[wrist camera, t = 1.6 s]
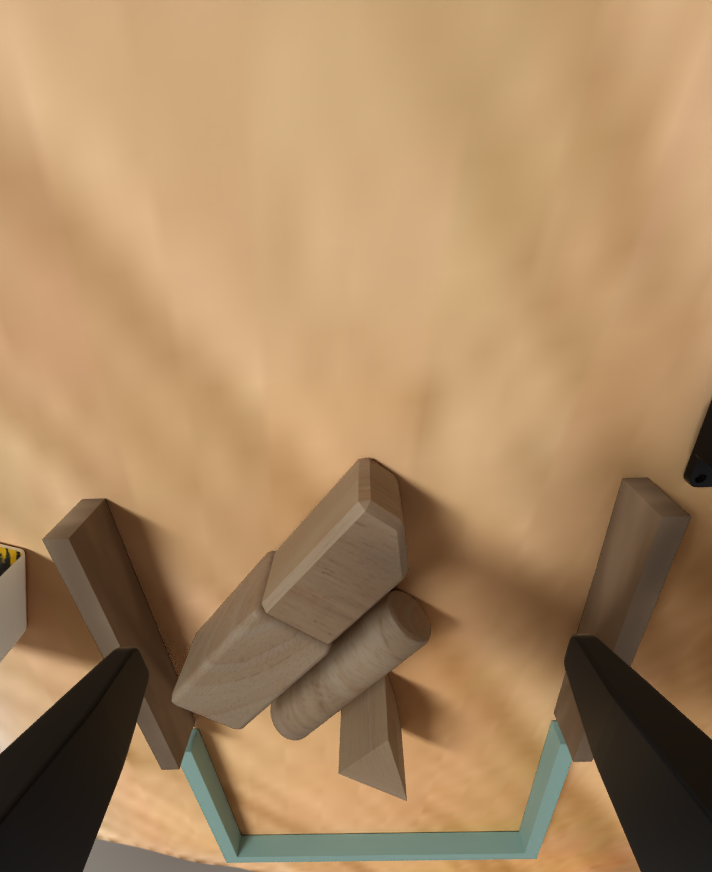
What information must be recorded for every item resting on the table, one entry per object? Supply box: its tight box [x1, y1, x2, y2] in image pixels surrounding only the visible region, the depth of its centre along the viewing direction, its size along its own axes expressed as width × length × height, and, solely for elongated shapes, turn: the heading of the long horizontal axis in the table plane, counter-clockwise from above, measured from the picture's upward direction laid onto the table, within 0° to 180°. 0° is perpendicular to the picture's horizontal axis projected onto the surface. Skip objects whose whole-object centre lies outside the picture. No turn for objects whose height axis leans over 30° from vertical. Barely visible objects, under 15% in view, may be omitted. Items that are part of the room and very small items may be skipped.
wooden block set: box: [172, 458, 431, 801], centre depth 23 cm, size 17×6×18 cm
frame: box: [181, 721, 572, 863], centre depth 34 cm, size 28×19×2 cm
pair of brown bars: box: [42, 478, 691, 770], centre depth 24 cm, size 28×20×3 cm
